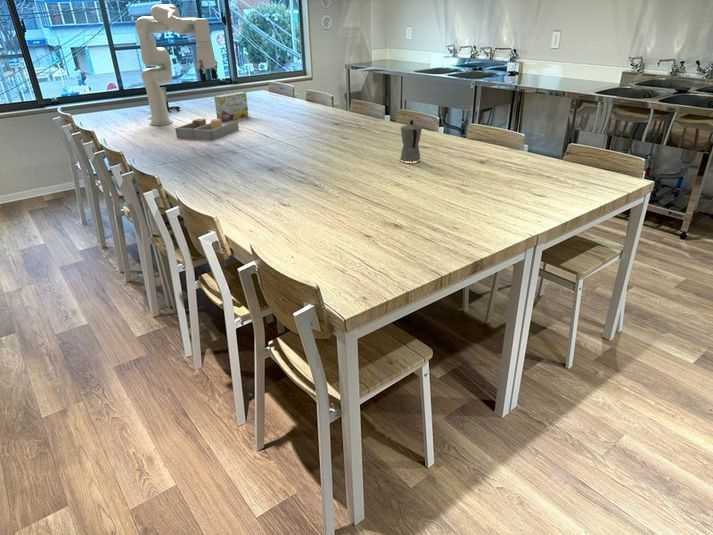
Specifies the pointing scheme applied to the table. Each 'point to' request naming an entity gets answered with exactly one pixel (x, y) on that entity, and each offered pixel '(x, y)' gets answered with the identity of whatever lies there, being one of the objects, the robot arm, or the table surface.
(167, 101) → the milk frother
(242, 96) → the snack box
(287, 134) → the table surface
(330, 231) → the table surface
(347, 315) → the table surface
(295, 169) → the table surface
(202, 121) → the walnut block
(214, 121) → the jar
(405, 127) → the coffeepot
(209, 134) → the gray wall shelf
